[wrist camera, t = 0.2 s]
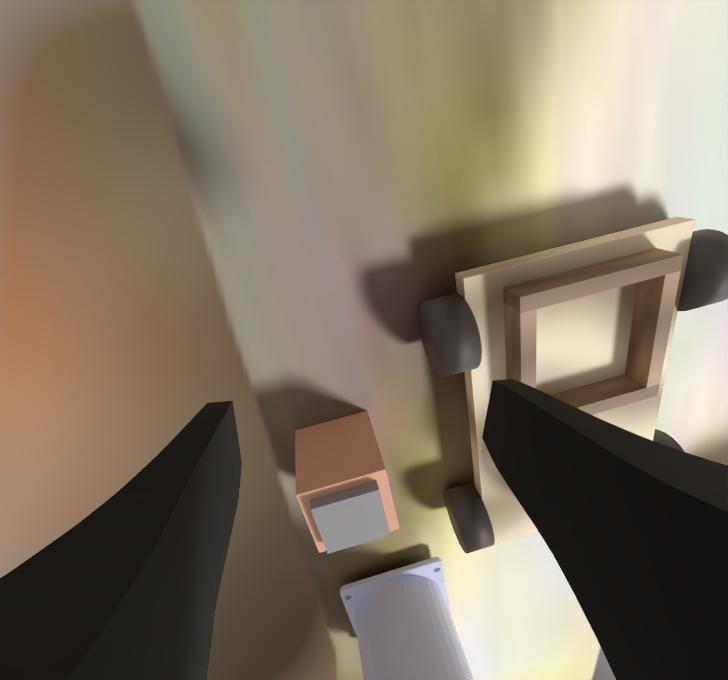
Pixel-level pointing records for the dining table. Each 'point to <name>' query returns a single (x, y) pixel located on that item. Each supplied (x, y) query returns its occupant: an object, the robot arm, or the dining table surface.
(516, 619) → the dining table surface
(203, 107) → the dining table surface
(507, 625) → the dining table surface
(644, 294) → the chassis
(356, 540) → the orange rectangular block
